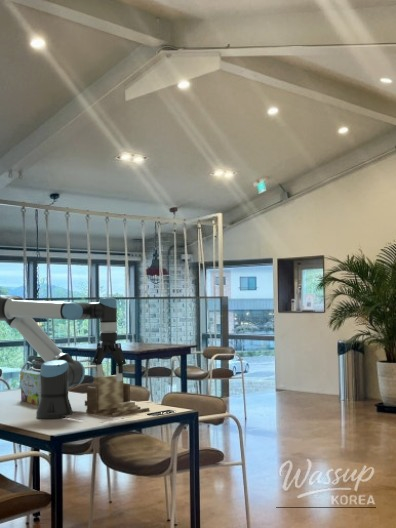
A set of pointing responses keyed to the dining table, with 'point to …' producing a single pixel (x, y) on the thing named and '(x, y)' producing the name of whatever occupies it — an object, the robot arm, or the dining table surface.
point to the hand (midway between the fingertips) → (109, 380)
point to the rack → (111, 412)
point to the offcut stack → (126, 406)
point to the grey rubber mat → (160, 412)
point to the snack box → (31, 386)
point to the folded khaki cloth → (108, 391)
